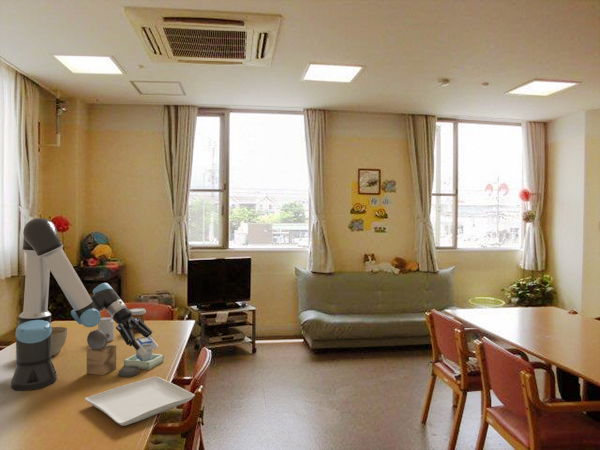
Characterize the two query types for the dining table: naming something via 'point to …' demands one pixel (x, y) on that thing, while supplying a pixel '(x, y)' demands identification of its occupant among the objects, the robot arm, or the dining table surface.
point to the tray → (147, 365)
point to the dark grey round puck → (129, 371)
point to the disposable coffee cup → (138, 314)
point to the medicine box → (147, 346)
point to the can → (107, 327)
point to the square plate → (139, 400)
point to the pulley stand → (100, 353)
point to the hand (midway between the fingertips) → (150, 351)
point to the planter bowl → (58, 339)
